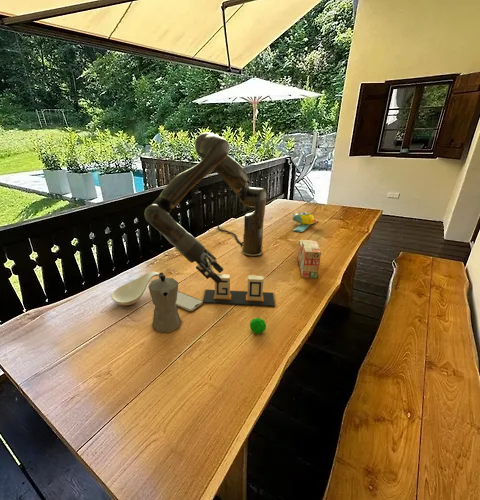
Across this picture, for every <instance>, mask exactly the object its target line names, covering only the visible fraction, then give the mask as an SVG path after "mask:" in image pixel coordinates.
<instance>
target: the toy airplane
mask: <svg viewBox="0 0 480 500" xmlns="http://www.w3.org/2000/svg"><path fill="white" fill-rule="evenodd" d="M292 221H294V222H296V223H298V224H299V225H298V226H296V227H295V228H294V229H292V232H297V233H304V231H306V230H307V228H309V227H310V226H311V225H313V224H315V225H317V224H318V221H319V216H317V217H315V216H314V215H313V214H311V213H310V212H299V213H293V215H292Z"/></svg>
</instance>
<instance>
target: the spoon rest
mask: <svg viewBox="0 0 480 500" xmlns="http://www.w3.org/2000/svg"><path fill="white" fill-rule="evenodd" d="M159 274H160V272H158V271H148V272H146V273H145V274H143V275H141V276H139V277H136V278H135V279H133V280H130V281H129V282H127V283H125V284H123V285H120V286H119V287H117V288H115V289H114V290H113V291H112V293H111V296H110V298H111V300H112V301H113V302H114V303H116V304H117V305H120V306H131V305H134V304H136V303H137V302H138V301H140V300H141V299H142V297H143V295H144V293H145V291H146V289H147V287H148V286H149V284H150V283H149V282H151V280H152V279H153V278H154V277H159Z"/></svg>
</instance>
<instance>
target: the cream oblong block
mask: <svg viewBox="0 0 480 500" xmlns="http://www.w3.org/2000/svg"><path fill="white" fill-rule="evenodd" d="M216 274H217V275H218V276H219V277H220V278H221V279H222V281H221V282H220V283H219V284H217V283H216V282H215V281H214V290H215V298H230V291H231V274H224V273H216Z"/></svg>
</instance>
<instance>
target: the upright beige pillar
mask: <svg viewBox="0 0 480 500" xmlns="http://www.w3.org/2000/svg"><path fill="white" fill-rule="evenodd" d="M246 291H247V299H250V300H262V297H263V292H264V275H249V274H248V275H247V290H246Z"/></svg>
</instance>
